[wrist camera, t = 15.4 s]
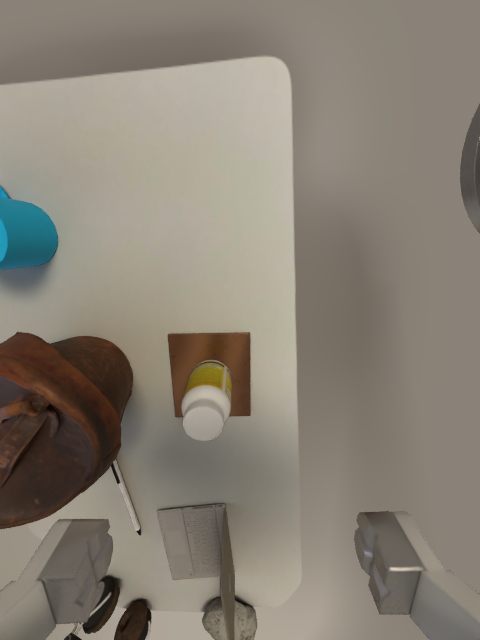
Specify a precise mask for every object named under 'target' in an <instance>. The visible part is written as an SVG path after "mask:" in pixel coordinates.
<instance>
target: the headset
mask: <svg viewBox="0 0 480 640" xmlns="http://www.w3.org/2000/svg"><path fill="white" fill-rule="evenodd" d="M97 585H98V591H99V593H98V596H97V598H96V601H95V603H94V606H93V608H92V611H91V613H90V616H89V618H88V621H87V622H84V623H80V626H79V627H78V629H77V631H76V633H75V634H73V633H74V632H75V630H76V628H77V623H74V624H75V627H74V629H73V631H72V633H70V634H69V635H68V636H67V637H66V638H65V639H64V640H81V639H80V638H79V637H77V634H78V632H79V630H80V629H81V627H82V626H83V630H84V632H85V633H87V634H90V633H92V632H93V633H95V632H97V631H99V630H100V629H101V628H102V626H104V625H105V623H106V622H107V621H108V619H109V618H110V617H111V615H112V613H113V611H114V609H115V607H116V604H117V602H118V598H119V594H120V588H119V586H118V582H117V581H116V580H109V579H108V578H104V579H102V580H100V581H99V582H98V583H97ZM150 625H151V611H150V610H149V609H148V608H147V604H146V603H145V601H136V602H134V603H132V604H131V605H130V606H129V607H128V608H127V610H126V611H125V612H124V614H123V615H122V617H121V619H120V621H119V623H118V626H117V629H116V632H115V637H114V640H145V638H146V636H147V638H146V640H148V638H149V634H150Z"/></svg>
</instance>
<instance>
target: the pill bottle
mask: <svg viewBox="0 0 480 640" xmlns="http://www.w3.org/2000/svg"><path fill="white" fill-rule="evenodd" d="M231 382H232V380H231V373H230V371H229V369H228V368H227V366H226V365H224V364H223V363H221V362H219V361H217V360H206V361H203V362H201V363H199V364H197V365H196V366H195V367H194V369H193V371H192V373H191V375H190V378H189V382H188V385H187V388H186V391H185V394H184V397H183V400H182V406H181V409H182V414H183V417H184V418H183V428H184V430H185V432H186V433H187V434H188V435H189V436H190V437H191V438H193V439H195V440H199V441H209V440H212V439H214V438H216V437H217V436H219V434H220V433H221V432H222V430H223V426H224V423H225V421H226V420H227V419H228V417H229V414H230V410H231V386H232V385H231Z"/></svg>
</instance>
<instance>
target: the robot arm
mask: <svg viewBox="0 0 480 640" xmlns="http://www.w3.org/2000/svg"><path fill="white" fill-rule="evenodd" d="M357 523H358V525H359V528H358V529H357V530H356V531H355V538H354V541H355V549H356V553H357V556H358V559H359V562H360V565H361V567H362V569H363V570H364V571H365V572H366V573H367V574H368V575H369V576H370V579H369V585H368V586H369V588H370V591H371V593H372V595H373V599H374V601H375V604H376V606H377V609H378V611H379V614H403V615H404V614H405V615H406V614H407V615H408V614H409V615H410V617H411V619H412V620H413V621H414V622H415V623H416V625H417V626H418V627H419V628H420V629H421V631H422V632H423V633H424V634H425V635H426V636H427V637H428V639H429V640H480V593H478V592H477V591H476V590H474V589H473V588H472V587H471V586H470V585H468V584H467V583H466V582H465V581H463V580H462V579H461V578H460V577H459V576H457V575H456V574H455V573H454V572H452V571H451V570H445V569H444V567H443V566H442V564H441V562H440V561H439V559H438V558H437V556H436V555H435V553H434V552H433V550H432V548H431V547H430V545H429V544H428V543H427V541H426V539H425V538H424V536H423V535H422V533H421V531H420V530H419V528H418V527H417V525H416V524H415V522H414V521H413V519H412V517H411V516H410V515H409V514H408V513H407V512H404V511H399V512H389V511H385V512H363V513H362V512H361V513H359V514H358V515H357ZM109 528H110V525H109V521H108V519H59V520H58V521H57V522H56V523H55V524H54V525H53V526H52V527H51V529H50V530H49V532H48V534H47V535H46V537H45V538H44V540H43V541H42V543H41V544H40V546H39V547H38V549H37V551H36V552H35V554H34V555H33V557H32V558H31V560H30V561H29V563H28V565H27V566H26V568H25V569H24V571H23V572H22V574H21V576H20V577H19V579H18V580H17V581H11V582H10V583H9V584H8V585H6V586H5V587H4V588H3V589H2V590H0V640H45V639H46V638H47V637H48V636H49V635H50V633H51V632H52V631H53V630H54V629H55V627H56V624H66V623H67V624H68V623H84V622H87V621H88V618H89V616H90V613H91V611H92V608H93V606H94V603H95V601H96V598H97V596H98V593H99V591H98V585H97V583H98V582H99V581H100V580H101V579H102V578H103V577H104V576H105V575H106V573H107V570H108V567H109V565H110V561H111V557H112V552H113V540H112V537H111V536H110V535H109V534H108V533H107V532H108V530H109Z"/></svg>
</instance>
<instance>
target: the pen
mask: <svg viewBox="0 0 480 640" xmlns="http://www.w3.org/2000/svg"><path fill="white" fill-rule="evenodd" d="M111 467H112V470H113V473H114V476H115V478H116V481H117V484H119V487H120V490H121V492H122V495H123V498H124V501H125V503H126V506H127V509H128V511H129V514H130V517H131V519H132V522H133V525H134V527H135V530H136V531H137V533H138V534H139V535H140V536H141V529H140V525H139V522H138V519H137V516H136V514H135V511H134V508H133V505H132V503H131V500H130V497H129V494H128V491H127V489H126V486H125V483H124V480H123V478H122V475H121V472H120V469H119V467H118V464H117V461H116V458H115V460H114V461H113V463H112V465H111Z"/></svg>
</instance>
